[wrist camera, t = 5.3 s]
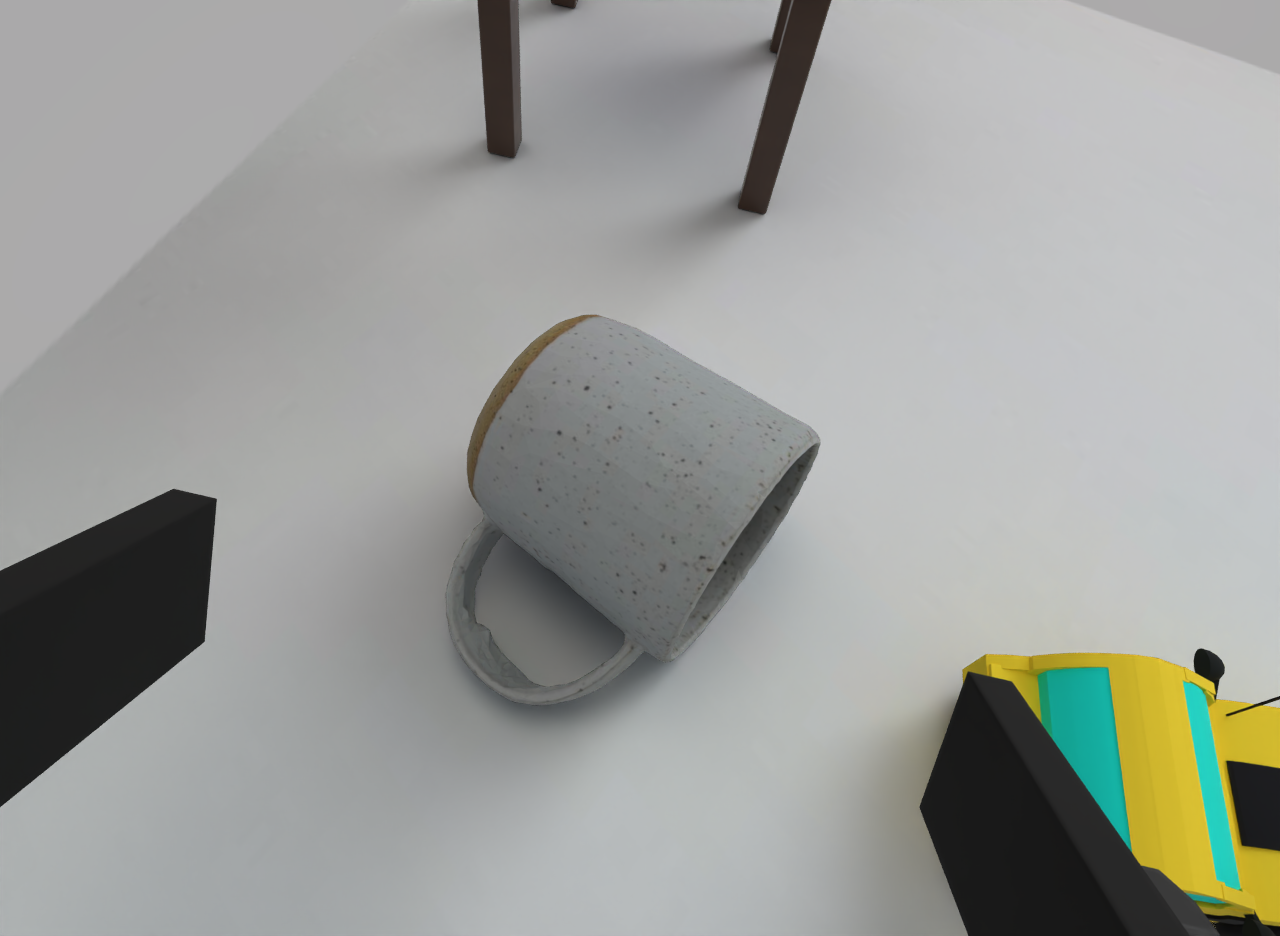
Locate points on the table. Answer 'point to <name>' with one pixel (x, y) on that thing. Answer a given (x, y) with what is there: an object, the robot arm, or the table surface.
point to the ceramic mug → (623, 491)
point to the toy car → (1170, 770)
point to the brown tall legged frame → (796, 50)
